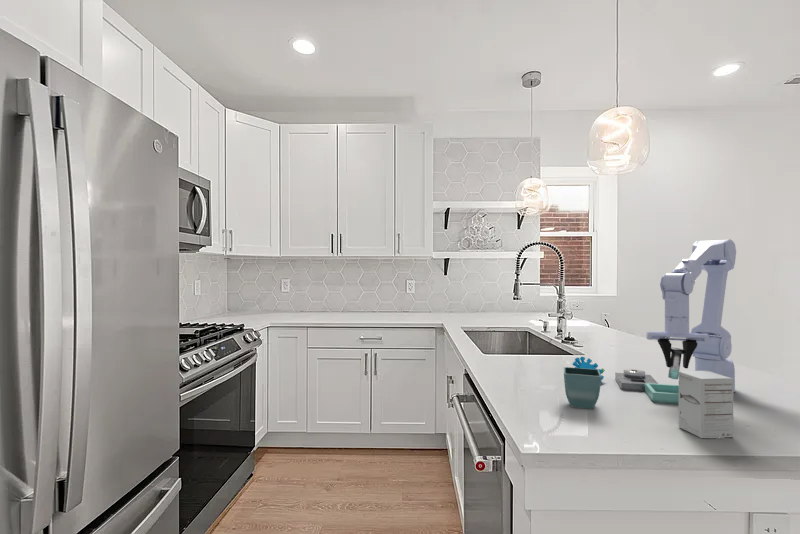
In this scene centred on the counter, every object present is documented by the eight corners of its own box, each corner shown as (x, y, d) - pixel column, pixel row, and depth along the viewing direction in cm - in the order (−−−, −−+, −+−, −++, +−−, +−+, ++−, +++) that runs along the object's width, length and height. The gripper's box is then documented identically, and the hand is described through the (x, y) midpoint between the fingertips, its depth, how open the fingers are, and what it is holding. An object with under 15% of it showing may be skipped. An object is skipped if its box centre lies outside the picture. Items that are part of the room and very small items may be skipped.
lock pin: (678, 376, 129) (682, 348, 128) (682, 380, 125) (686, 351, 125) (663, 374, 130) (667, 346, 129) (667, 378, 126) (671, 349, 125)
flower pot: (599, 403, 123) (598, 368, 123) (601, 412, 115) (601, 376, 115) (563, 400, 126) (563, 366, 126) (563, 409, 117) (563, 373, 117)
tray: (700, 395, 130) (700, 386, 130) (713, 406, 119) (713, 396, 119) (644, 391, 134) (644, 382, 134) (652, 401, 124) (652, 392, 124)
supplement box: (677, 427, 104) (677, 370, 104) (708, 426, 104) (708, 370, 104) (701, 439, 96) (701, 378, 96) (735, 438, 97) (734, 377, 97)
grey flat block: (650, 381, 147) (650, 369, 147) (659, 392, 133) (659, 379, 133) (615, 378, 150) (615, 367, 150) (621, 389, 136) (621, 376, 136)
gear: (582, 381, 139) (570, 353, 146) (571, 392, 143) (560, 364, 150) (613, 384, 142) (599, 357, 149) (602, 394, 146) (589, 367, 153)
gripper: (649, 317, 125) (650, 368, 125) (712, 319, 121) (712, 372, 121) (644, 315, 132) (645, 363, 132) (704, 316, 127) (704, 366, 127)
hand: (677, 367), depth 127 cm, fingers closed on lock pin, 3 cm apart
